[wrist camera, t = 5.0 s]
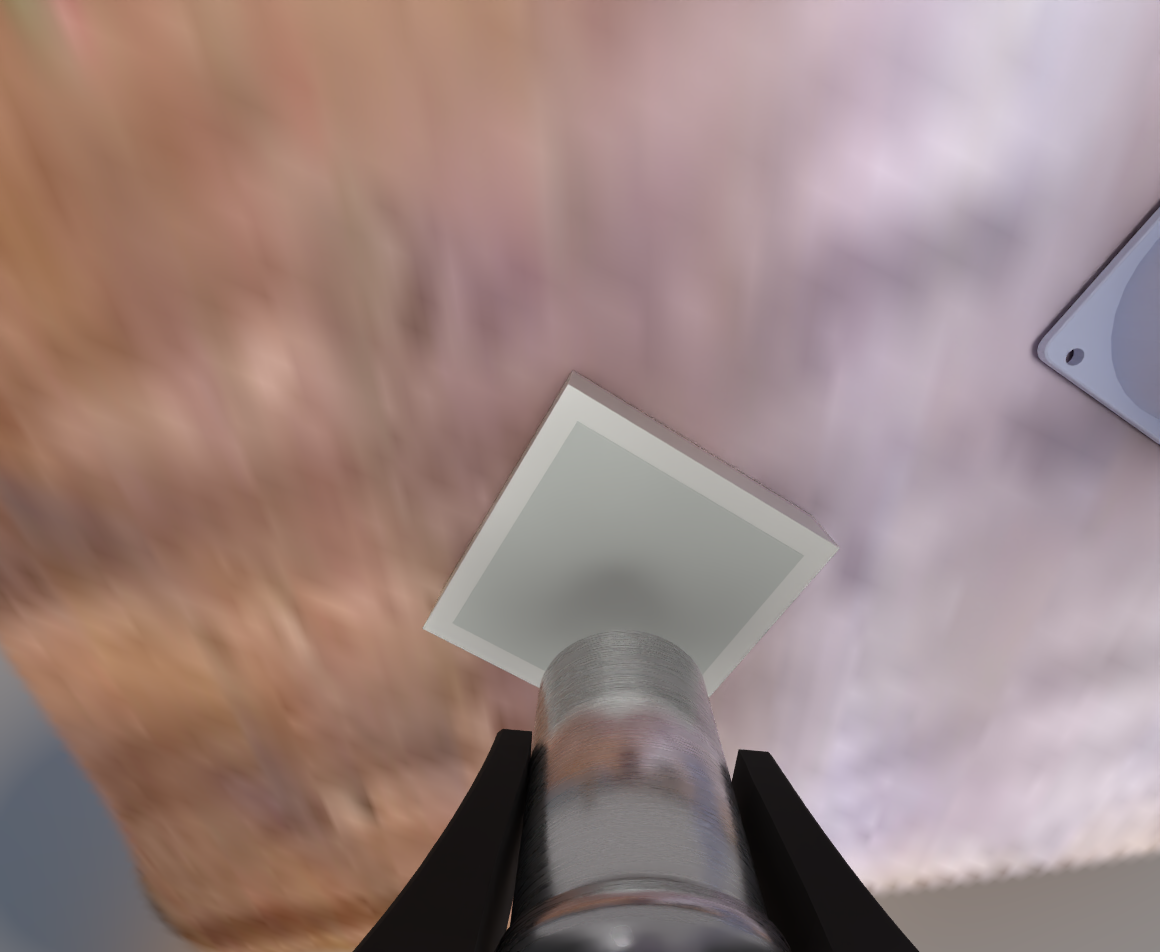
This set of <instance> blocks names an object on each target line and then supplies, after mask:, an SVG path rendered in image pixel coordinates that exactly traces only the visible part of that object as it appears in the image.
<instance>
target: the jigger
mask: <svg viewBox="0 0 1160 952" xmlns="http://www.w3.org/2000/svg"><path fill="white" fill-rule="evenodd" d="M495 952H791V949H790V946H789V945H788V943H787V941H786V939H785V938H784V936H783V934H782V933H781V932H780V931H779V930H778V928H777V927H776V926H775V925H774V924H773V923H772V922H771V921H770V920H769V919H768V916H767V913H766V909H765V905H764V901H763V898H762V894H761V890H760V887H759V883H758V879H757V875H756V872H755V868H754V864H753V860H752V857H751V853H750V849H749V846H748V842H747V838H746V834H745V831H744V827H743V823H742V820H741V816H740V812H739V808H738V805H737V801H736V797H735V793H734V790H733V786H732V782H731V779H730V775H729V771H728V767H727V764H726V760H725V756H724V753H723V749H722V745H721V741H720V738H719V734H718V730H717V726H716V723H715V719H714V715H713V712H712V708H711V704H710V700H709V697H708V693H707V689H706V686H705V682H704V679H703V676H702V674H701V672H700V670H699V668H698V666H697V665H696V663H695V662H694V661H693V659H692V658H691V657H690V656H689V655H688V654H687V653H686V652H685V651H683V650H682V649H681V648H679V647H678V646H677V645H675V644H673V643H672V642H670V641H668V640H666V639H664V638H661V637H659V636H656V635H652V634H649V633H645V632H639V631H629V630H618V631H608V632H601V633H598V634H594V635H590V636H588V637H585V638H583V639H580V640H578V641H576V642H575V643H573V644H571V645H569V646H568V647H567V648H565V649H564V650H563V651H561V652H560V653H559V654H558V655H557V656H556V657H555V658H554V659H553V661H552V662H551V663H550V664H549V666H548V667H547V669H546V671H545V673H544V675H543V677H542V680H541V683H540V688H539V695H538V703H537V711H536V719H535V727H534V735H533V744H532V752H531V760H530V768H529V776H528V784H527V792H526V800H525V809H524V817H523V825H522V833H521V841H520V849H519V857H518V866H517V874H516V882H515V890H514V898H513V906H512V914H511V922H510V927H509V928H508V929H507V931H506V932H505V933H504V935H503V936H502V938H501V939H500V941H499V943H498V945H497V947H496V949H495Z"/></svg>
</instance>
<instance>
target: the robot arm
mask: <svg viewBox="0 0 1160 952" xmlns="http://www.w3.org/2000/svg"><path fill="white" fill-rule="evenodd" d="M1071 350H1073V351H1074V356H1073V358H1072V359H1071V360H1070V361H1069V362H1066V356H1067V354H1068V353H1069V352H1070V351H1071ZM1037 352H1038V357H1039V358H1040V359H1041V360H1042V361H1043V362H1044V363H1046V364H1047V365H1048V366H1050V367H1051V368H1053V369H1054V370H1055V371H1057V372H1058V373H1060V374H1061V375H1062V376H1064V377H1065V378H1067V379H1068V380H1069V381H1071V382H1072V383H1074V384H1075V385H1076V386H1078V387H1079V388H1081V389H1082V390H1083V391H1085V392H1086V393H1088V394H1089V395H1090V396H1092V397H1093V398H1095V399H1096V400H1097V401H1099V402H1100V403H1102V404H1103V405H1104V406H1106V407H1107V408H1109V409H1110V410H1112V411H1113V412H1114V413H1116V414H1117V415H1119V416H1120V417H1121V418H1123V419H1124V420H1126V421H1127V422H1128V423H1130V424H1131V425H1133V426H1134V427H1135V428H1137V429H1138V430H1140V431H1141V432H1142V433H1144V434H1145V435H1147V436H1148V437H1149V438H1151V439H1152V440H1154V441H1155V442H1156V443H1158V444H1159V445H1160V207H1159V208H1158V209H1157V210H1156V212H1155V213H1154V214H1153V215H1152V216H1151V217H1150V218H1149V219H1148V221H1147V222H1146V223H1145V224H1144V225H1143V226H1142V227H1141V228H1140V230H1139V231H1138V232H1137V233H1136V234H1135V235H1134V236H1133V237H1132V239H1131V240H1130V241H1129V242H1128V243H1127V244H1126V245H1125V246H1124V248H1123V249H1122V250H1121V251H1120V252H1119V253H1118V254H1117V255H1116V257H1115V258H1114V259H1113V260H1112V261H1111V262H1110V263H1109V264H1108V266H1107V267H1106V268H1105V269H1104V270H1103V271H1102V272H1101V273H1100V275H1099V276H1098V277H1097V278H1096V279H1095V280H1094V281H1093V282H1092V284H1091V285H1090V286H1089V287H1088V288H1087V289H1086V290H1085V291H1084V293H1083V294H1082V295H1081V296H1080V297H1079V298H1078V299H1077V300H1076V302H1075V303H1074V304H1073V305H1072V306H1071V307H1070V308H1069V309H1068V311H1067V312H1066V313H1065V314H1064V315H1063V316H1062V317H1061V318H1060V320H1059V321H1058V322H1057V323H1056V324H1055V325H1054V326H1053V327H1052V329H1051V330H1050V331H1049V332H1048V333H1047V334H1046V335H1045V336H1044V338H1043V339H1042V340H1041V342H1040V343H1039V346H1038V350H1037ZM531 742H532V731H520V730H509V729H502V730H501V731H500V732H498V733H497V736H496V738H495V741H494V743H493V745H492V747H491V750H490V752H489V754H488V756H487V758H486V760H485V762H484V764H483V766H482V768H481V770H480V771H479V773H478V775H477V777H476V779H475V781H474V782H473V784H472V786H471V788H470V789H469V791H468V793H467V794H466V796H465V798H464V799H463V801H462V803H461V804H460V806H459V808H458V809H457V811H456V813H455V814H454V816H453V818H452V819H451V821H450V822H449V824H448V826H447V827H446V829H445V830H444V832H443V833H442V835H441V836H440V838H439V839H438V841H437V842H436V843H435V845H434V846H433V848H432V849H431V851H430V852H429V854H428V855H427V857H426V858H425V860H424V861H423V863H422V864H421V866H420V867H419V868H418V870H417V871H416V872H415V874H414V875H413V877H412V878H411V879H410V881H409V882H408V883H407V885H406V886H405V887H404V889H403V890H402V891H401V893H400V894H399V895H398V897H397V898H396V899H395V900H394V902H393V903H392V904H391V906H390V907H389V908H388V909H387V911H386V912H385V913H384V915H383V916H382V917H381V918H380V920H379V921H378V922H377V923H376V924H375V926H374V927H373V928H372V929H371V930H370V932H369V933H368V934H367V935H366V936H365V938H364V939H363V940H362V941H361V942H360V944H359V945H358V946H357V947H356V948H355V950H354V951H353V952H495V949H496V947H497V945H498V943H499V941H500V939H501V938H502V936H503V935H504V933H505V932H506V929H507V924H508V920H509V915H510V910H511V906H512V901H513V896H514V890H515V882H516V874H517V866H518V857H519V849H520V841H521V833H522V825H523V817H524V809H525V800H526V792H527V784H528V776H529V768H530V760H531ZM732 786H733V790H734V793H735V797H736V801H737V805H738V808H739V812H740V816H741V820H742V823H743V827H744V831H745V834H746V838H747V842H748V846H749V849H750V853H751V857H752V860H753V864H754V868H755V872H756V875H757V879H758V883H759V887H760V890H761V894H762V898H763V901H764V905H765V909H766V913H767V916H768V919H769V920H770V921H771V922H772V923H773V924H774V925H775V926H776V927H777V928H778V930H779V931H780V932H781V933H782V934H783V936H784V938H785V939H786V941H787V943H788V945H789V946H790V949H791V952H919V951H918V950H917V949H916V947H915V946H914V945H913V944H912V943H911V942H910V940H909V939H908V938H907V937H906V936H905V935H904V934H903V933H902V931H901V930H900V929H899V928H898V926H897V925H896V924H895V923H894V922H893V920H892V919H891V918H890V917H889V916H888V914H887V913H886V912H885V911H884V910H883V908H882V907H881V906H880V905H879V903H878V902H877V901H876V900H875V898H874V897H873V896H872V895H871V893H870V892H869V891H868V890H867V888H866V887H865V886H864V885H863V883H862V882H861V881H860V879H859V878H858V877H857V876H856V874H855V873H854V872H853V870H852V869H851V868H850V866H849V865H848V864H847V862H846V861H845V860H844V858H843V857H842V856H841V854H840V853H839V852H838V850H837V849H836V848H835V846H834V845H833V844H832V842H831V841H830V839H829V838H828V837H827V835H826V834H825V833H824V831H823V830H822V829H821V827H820V826H819V824H818V823H817V822H816V820H815V819H814V817H813V816H812V814H811V813H810V812H809V810H808V809H807V807H806V806H805V804H804V803H803V801H802V800H801V799H800V797H799V796H798V794H797V793H796V791H795V790H794V788H793V787H792V785H791V784H790V782H789V781H788V779H787V778H786V776H785V775H784V773H783V772H782V770H781V769H780V767H779V766H778V764H777V763H776V761H775V760H774V758H773V757H772V756H771V754H770V753H769V752H763V751H752V750H740V749H739V751H738V755H737V760H736V764H735V769H734V774H733V778H732Z"/></svg>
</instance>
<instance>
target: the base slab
mask: <svg viewBox="0 0 1160 952" xmlns="http://www.w3.org/2000/svg"><path fill="white" fill-rule="evenodd" d="M839 549H840V548H839V547H838V546H837V544H836V543H835V542H834V541H833V540H832V539H831V537H830V536H829V535H828V534H827V533H826V532H825V530H824V529H823V528H822V527H821V526H820V525H819V523H818V522H817V521H816V520H815V519H814V518H813V517H812V516H811V515H810V514H808V513H806V512H805V511H803V510H802V509H800V508H798V507H797V506H795V505H793V504H792V503H790V502H788V501H787V500H785V499H783V498H782V497H780V496H779V495H777V494H775V493H774V492H772V491H770V490H769V489H767V488H765V487H764V486H762V485H761V484H759V483H757V482H756V481H754V480H752V479H751V478H749V477H747V476H746V475H744V474H742V473H741V472H739V471H738V470H736V469H734V468H733V467H731V466H729V465H728V464H726V463H724V462H723V461H721V460H719V459H718V458H716V457H715V456H713V455H711V454H710V453H708V452H706V451H705V450H703V449H701V448H700V447H698V446H697V445H695V444H693V443H692V442H690V441H688V440H687V439H685V438H683V437H682V436H680V435H678V434H677V433H675V432H674V431H672V430H670V429H669V428H667V427H665V426H664V425H662V424H660V423H659V422H657V421H655V420H654V419H652V418H651V417H649V416H647V415H646V414H644V413H642V412H641V411H639V410H637V409H636V408H634V407H632V406H631V405H629V404H628V403H626V402H624V401H623V400H621V399H619V398H618V397H616V396H614V395H613V394H611V393H610V392H608V391H606V390H605V389H603V388H601V387H600V386H598V385H596V384H595V383H593V382H591V381H590V380H588V379H587V378H585V377H583V376H582V375H580V374H578V373H577V372H575V371H572V372H571V374H570V376H569V377H568V379H567V381H566V383H565V384H564V386H563V388H562V389H561V391H560V393H559V394H558V396H557V398H556V399H555V401H554V403H553V404H552V406H551V408H550V410H549V411H548V413H547V415H546V416H545V418H544V420H543V421H542V423H541V425H540V426H539V428H538V430H537V431H536V433H535V435H534V436H533V438H532V440H531V442H530V443H529V445H528V447H527V448H526V450H525V452H524V453H523V455H522V457H521V458H520V460H519V462H518V463H517V465H516V467H515V468H514V470H513V472H512V474H511V475H510V477H509V479H508V480H507V482H506V484H505V485H504V487H503V489H502V490H501V492H500V494H499V495H498V497H497V499H496V500H495V502H494V504H493V506H492V507H491V509H490V511H489V512H488V514H487V516H486V517H485V519H484V521H483V522H482V524H481V526H480V527H479V529H478V531H477V532H476V534H475V536H474V538H473V539H472V541H471V543H470V544H469V546H468V548H467V549H466V551H465V553H464V554H463V556H462V558H461V559H460V561H459V563H458V565H457V566H456V568H455V570H454V571H453V573H452V575H451V576H450V578H449V580H448V581H447V583H446V585H445V586H444V588H443V590H442V592H441V594H440V596H439V597H438V599H437V601H436V603H435V605H434V607H433V609H432V611H431V613H430V615H429V617H428V619H427V621H426V623H425V624H424V626H423V628H422V629H424V630H426V631H428V632H430V633H432V634H434V635H436V636H438V637H440V638H442V639H444V640H446V641H448V642H450V643H452V644H454V645H456V646H458V647H460V648H462V649H464V650H466V651H468V652H470V653H471V654H473V655H475V656H477V657H479V658H481V659H483V660H485V661H487V662H489V663H491V664H493V665H495V666H497V667H499V668H501V669H503V670H505V671H507V672H509V673H511V674H513V675H515V676H517V677H519V678H521V679H523V680H525V681H527V682H528V683H530V684H532V685H534V686H536V687H538V688H540V683H541V680H542V677H543V675H544V673H545V671H546V669H547V667H548V666H549V664H550V663H551V662H552V661H553V659H554V658H555V657H556V656H557V655H558V654H559V653H560V652H561V651H563V650H564V649H565V648H567V647H568V646H569V645H571V644H573V643H575V642H576V641H578V640H580V639H583V638H585V637H588V636H590V635H594V634H598V633H601V632H608V631H618V630H629V631H639V632H645V633H649V634H652V635H656V636H659V637H661V638H664V639H666V640H668V641H670V642H672V643H673V644H675V645H677V646H678V647H679V648H681V649H682V650H683V651H685V652H686V653H687V654H688V655H689V656H690V657H691V658H692V659H693V661H694V662H695V663H696V665H697V666H698V668H699V670H700V672H701V674H702V676H703V679H704V682H705V686H706V689H707V693H708V697H710V696H711V695H712V694H713V692H714V691H715V690H716V689H717V688H718V687H719V686H720V684H721V683H722V682H723V681H724V680H725V679H726V678H727V676H728V675H729V674H730V673H731V672H732V671H733V670H734V668H735V667H736V666H737V665H738V664H739V663H740V662H741V661H742V659H743V658H744V657H745V656H746V655H747V654H748V653H749V651H750V650H751V649H752V648H753V647H754V646H755V645H756V643H757V642H758V641H759V640H760V639H761V638H762V637H763V635H764V634H765V633H766V632H767V631H768V630H769V629H770V627H771V626H772V625H773V624H774V623H775V622H776V621H777V619H778V618H779V617H780V616H781V615H782V614H783V613H784V611H785V610H786V609H787V608H788V607H789V606H790V605H791V603H792V602H793V601H794V600H795V599H796V598H797V597H798V595H799V594H800V593H801V592H802V591H803V590H804V589H805V587H806V586H807V585H808V584H809V583H810V582H811V581H812V579H813V578H814V577H815V576H816V575H817V574H818V573H819V571H820V570H821V569H822V568H823V567H824V566H825V565H826V563H827V562H828V561H829V560H830V559H831V558H832V557H833V555H834V554H835V553H836V552H837V551H838V550H839Z"/></svg>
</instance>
